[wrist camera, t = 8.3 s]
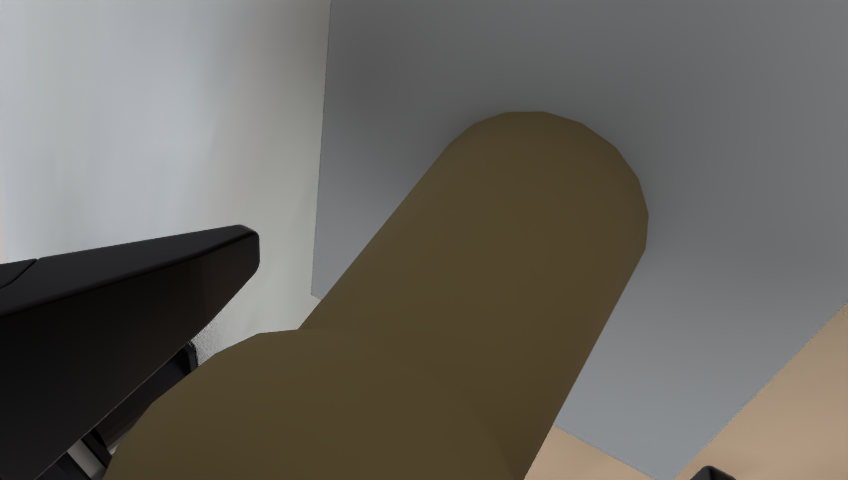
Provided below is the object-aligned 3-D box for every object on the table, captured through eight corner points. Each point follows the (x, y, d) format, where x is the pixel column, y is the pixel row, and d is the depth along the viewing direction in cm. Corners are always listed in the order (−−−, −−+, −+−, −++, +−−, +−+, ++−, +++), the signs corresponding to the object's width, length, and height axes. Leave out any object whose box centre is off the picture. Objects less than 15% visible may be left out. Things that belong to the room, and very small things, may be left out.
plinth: (670, 437, 17) (666, 486, 15) (340, 269, 21) (310, 294, 19) (1047, 9, 9) (1121, 20, 7) (386, -139, 12) (341, -152, 11)
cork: (431, 95, 13) (-116, 369, 4) (681, 130, 10) (582, 891, 2) (426, 280, 16) (107, 652, 7) (618, 339, 14) (476, 979, 5)
